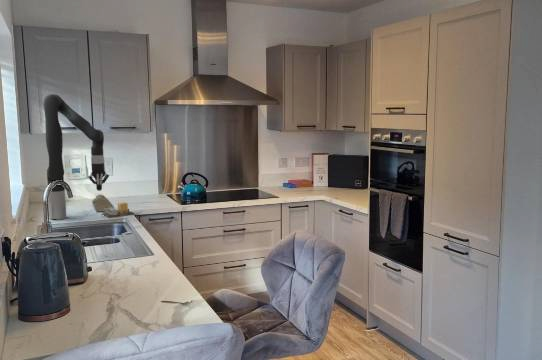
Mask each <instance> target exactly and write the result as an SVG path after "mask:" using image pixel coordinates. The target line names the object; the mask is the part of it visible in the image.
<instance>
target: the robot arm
mask: <svg viewBox="0 0 542 360" xmlns="http://www.w3.org/2000/svg"><path fill="white" fill-rule="evenodd" d="M42 105H43V110H44V117H45V118H44V120H45V121H44V122H45V123H44V124H45V125H44V126H45V127H44V128H45V143H46V149H47V155H48V167H47V169H46V179H47V180H46V181H47V186H48V185H49V184H50V183H52V182H53V181H56V180H62V181H64V182H65V180H64V176H65V169H64V163H63V149H64V147H63V146H64V145H63V143H64V141H63V129H62V127H61V123H60V120H59V113H60V114H62V115H63V117H65V118H66V119H67V120H68V121H69V122H70V123H71V124H72V126H74V127H75V128H77V130H79V131H80V132H82V133H83V134H84V135H85V136H86V137H87V138H88V139H89V140H91V141H92V145H91V146H90V147H91V148H90V155H91V157H90V158H91V159H90V162H91V163H90V164H91V173H90V175H88V176H87V178H88V180H90V181H91V183H92V184H94V185H95V186H96V190H97V191H99V192H100V191H102V189H103V184H105V183H106V182H107V180H108V178H109V177H110V175H109V174H107V173H106V169H105V167H106V166H105V155H104V141H105V135H104V132H103V131H102V130H100V129H96V128H95V127H93V126H92V123H90V122H89V120H88V119H85V118H84V117H83V116H82V115H80V114H79V113H78V112H76V111H75V110H74V109H73V108H71V106H69V104H67V103H66V101H65V100H63V98H62V97H61V96H60V95H58V94H56V93H48V94H46V95H45V96H43V100H42ZM48 201H49V202H48V203H49V206H48V218H49V217H50V218H49V219H50V220H52V219H57V220H64V219H66V218H67V204H66V203H67V202H66V201H67V199H66V187H65V188H64V187H63V186H62V185H56V186H55V187H54V188H53V189H52V191H51V192H50V195H49V194H48Z"/></svg>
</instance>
